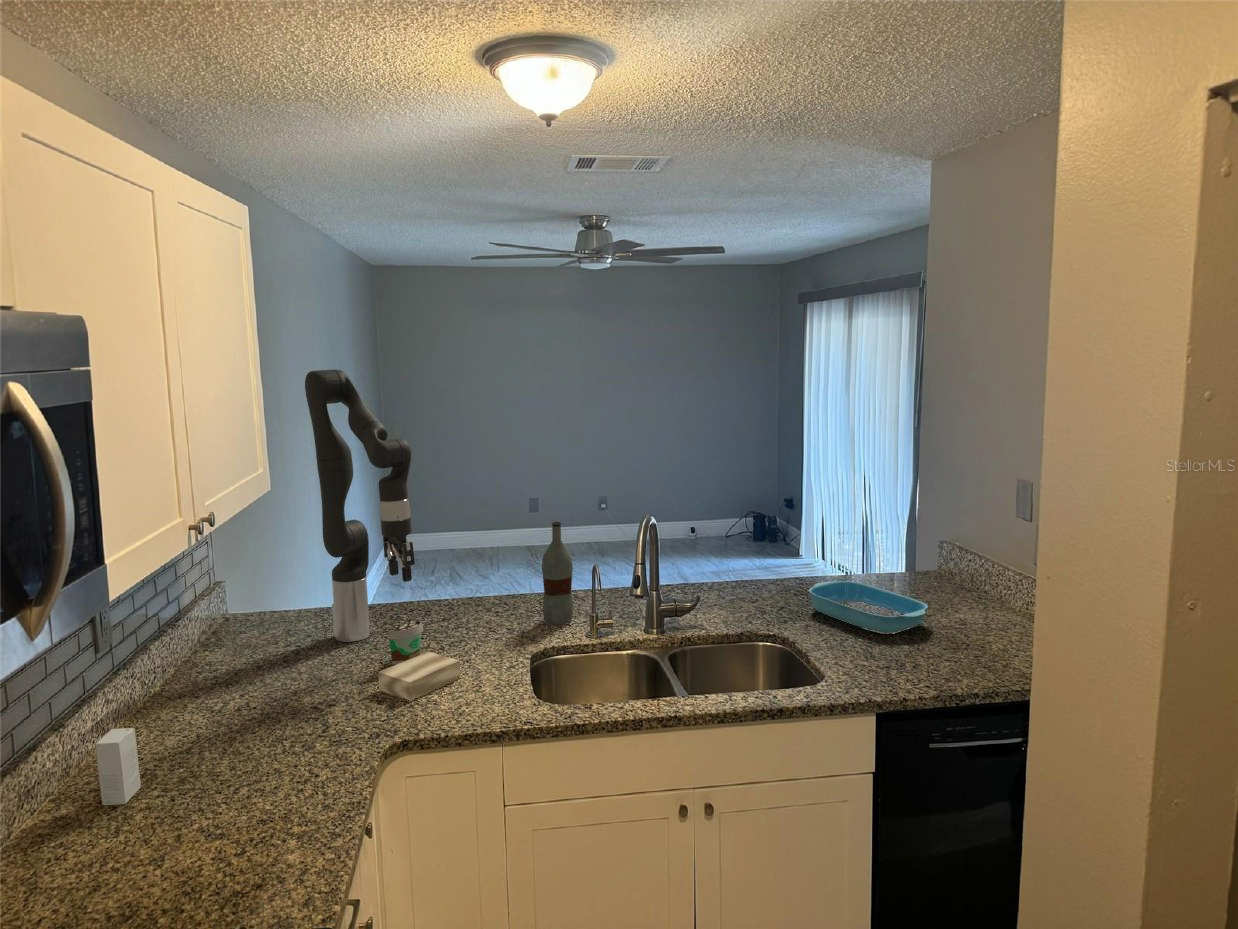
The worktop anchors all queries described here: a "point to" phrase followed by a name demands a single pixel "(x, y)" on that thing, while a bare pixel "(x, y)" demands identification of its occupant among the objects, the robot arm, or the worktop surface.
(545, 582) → the bottle
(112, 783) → the skincare box
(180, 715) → the worktop surface
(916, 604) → the casserole dish
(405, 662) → the maple block
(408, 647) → the food container
